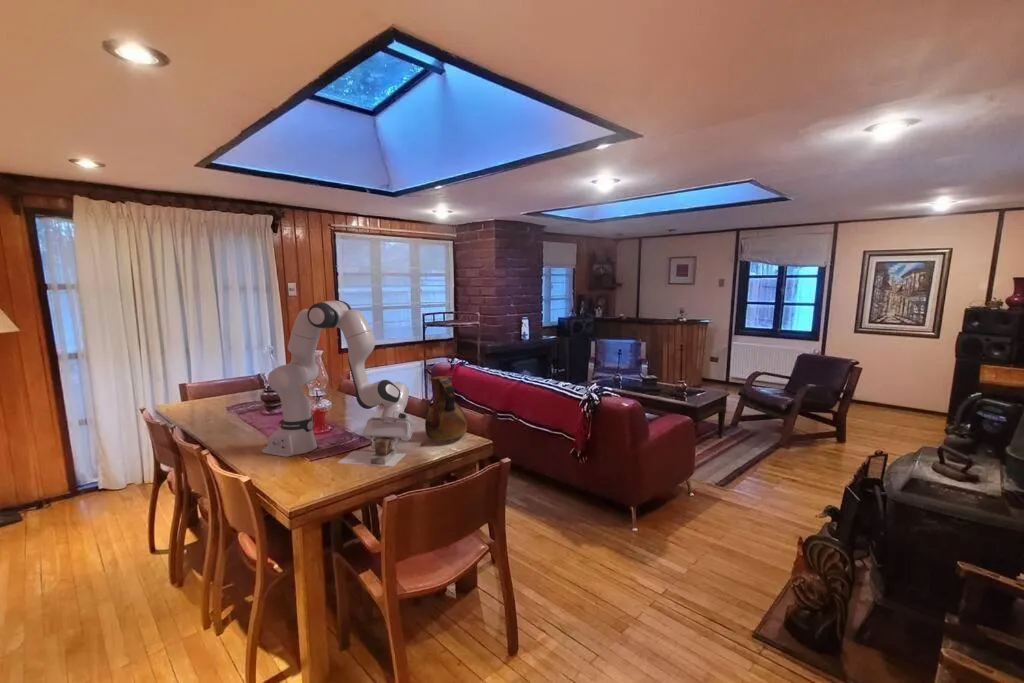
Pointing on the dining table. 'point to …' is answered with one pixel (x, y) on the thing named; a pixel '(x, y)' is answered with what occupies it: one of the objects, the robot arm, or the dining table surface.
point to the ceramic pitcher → (445, 413)
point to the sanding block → (382, 451)
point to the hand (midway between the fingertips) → (382, 448)
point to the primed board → (368, 458)
